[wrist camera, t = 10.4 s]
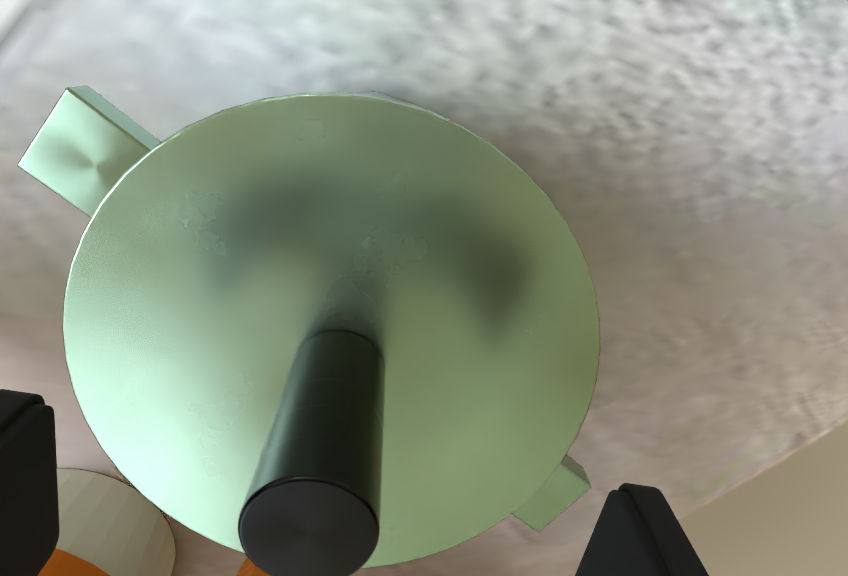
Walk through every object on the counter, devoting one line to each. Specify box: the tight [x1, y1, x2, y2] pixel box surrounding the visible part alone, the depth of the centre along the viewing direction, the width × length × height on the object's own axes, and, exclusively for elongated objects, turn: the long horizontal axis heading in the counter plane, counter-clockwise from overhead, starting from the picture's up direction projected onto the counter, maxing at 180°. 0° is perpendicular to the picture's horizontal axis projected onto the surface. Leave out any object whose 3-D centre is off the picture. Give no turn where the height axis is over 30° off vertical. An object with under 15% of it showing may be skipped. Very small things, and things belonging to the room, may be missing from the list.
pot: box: [18, 86, 591, 532], centre depth 19 cm, size 13×18×8 cm
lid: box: [63, 93, 600, 576], centre depth 13 cm, size 14×14×7 cm
